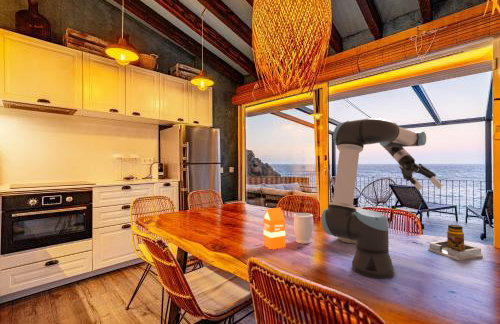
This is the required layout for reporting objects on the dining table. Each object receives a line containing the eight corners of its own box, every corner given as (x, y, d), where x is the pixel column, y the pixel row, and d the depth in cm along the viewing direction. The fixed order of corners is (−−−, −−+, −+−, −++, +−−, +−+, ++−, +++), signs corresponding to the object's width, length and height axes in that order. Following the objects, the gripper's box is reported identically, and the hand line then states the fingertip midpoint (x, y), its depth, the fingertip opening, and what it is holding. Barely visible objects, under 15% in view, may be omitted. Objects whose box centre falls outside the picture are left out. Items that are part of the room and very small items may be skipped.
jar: (316, 241, 137) (316, 214, 137) (307, 245, 129) (306, 217, 130) (300, 237, 144) (299, 211, 144) (290, 241, 137) (289, 214, 137)
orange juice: (263, 245, 132) (263, 207, 132) (277, 242, 135) (277, 206, 135) (271, 249, 124) (270, 210, 125) (285, 247, 128) (285, 208, 128)
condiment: (454, 254, 112) (454, 227, 112) (439, 248, 120) (439, 223, 120) (470, 253, 112) (469, 227, 112) (454, 247, 120) (453, 222, 120)
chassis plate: (458, 260, 107) (458, 252, 107) (428, 250, 120) (428, 242, 120) (482, 256, 111) (482, 248, 111) (450, 246, 124) (450, 239, 124)
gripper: (416, 163, 147) (443, 191, 132) (382, 164, 140) (407, 193, 125) (425, 154, 142) (453, 182, 127) (390, 154, 135) (416, 183, 120)
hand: (430, 187), depth 126 cm, fingers open, 13 cm apart
